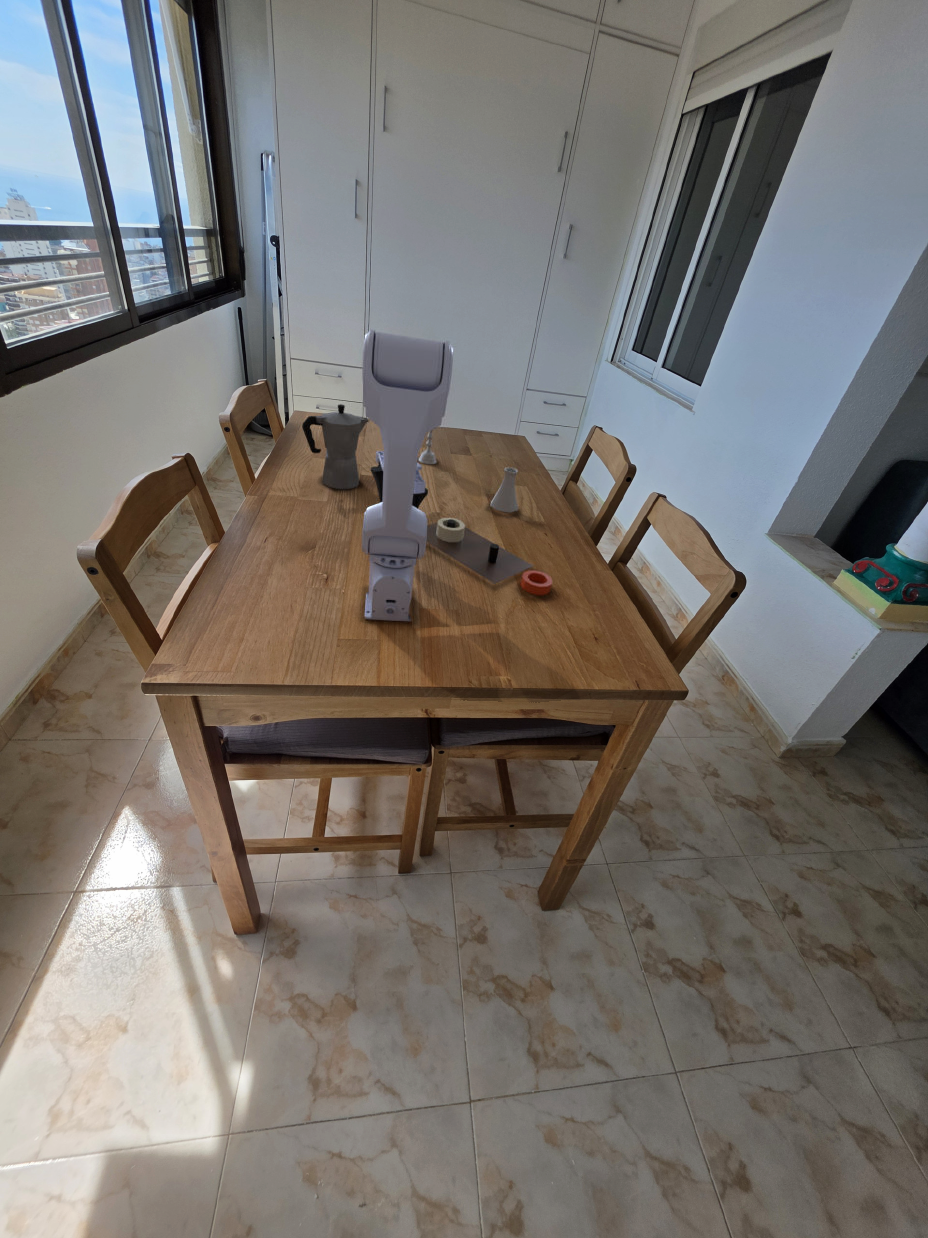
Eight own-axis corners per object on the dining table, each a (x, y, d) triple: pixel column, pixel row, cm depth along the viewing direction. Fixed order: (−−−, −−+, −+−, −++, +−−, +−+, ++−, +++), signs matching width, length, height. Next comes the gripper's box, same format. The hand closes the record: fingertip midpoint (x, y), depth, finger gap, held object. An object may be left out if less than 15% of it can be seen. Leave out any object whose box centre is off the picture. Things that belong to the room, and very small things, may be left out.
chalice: (411, 456, 150) (417, 388, 139) (433, 455, 152) (441, 389, 142) (420, 465, 145) (427, 396, 134) (443, 465, 147) (452, 397, 137)
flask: (483, 509, 127) (490, 469, 122) (496, 500, 133) (503, 461, 127) (510, 519, 125) (519, 478, 119) (522, 509, 131) (531, 470, 125)
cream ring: (466, 542, 111) (468, 530, 109) (440, 542, 109) (441, 530, 107) (458, 529, 115) (460, 517, 113) (433, 529, 113) (435, 517, 111)
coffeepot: (359, 472, 135) (361, 398, 124) (374, 487, 129) (377, 410, 118) (298, 476, 127) (294, 398, 117) (310, 493, 121) (308, 411, 111)
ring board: (532, 570, 107) (537, 550, 105) (493, 588, 100) (498, 568, 97) (449, 522, 119) (451, 503, 117) (408, 535, 112) (410, 515, 109)
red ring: (553, 598, 100) (557, 586, 98) (526, 599, 98) (529, 587, 96) (542, 582, 104) (545, 569, 102) (515, 583, 102) (518, 570, 101)
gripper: (444, 454, 87) (435, 529, 95) (402, 425, 96) (397, 496, 104) (406, 457, 83) (399, 535, 91) (366, 426, 92) (363, 500, 100)
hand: (396, 514), depth 97 cm, fingers open, 7 cm apart
